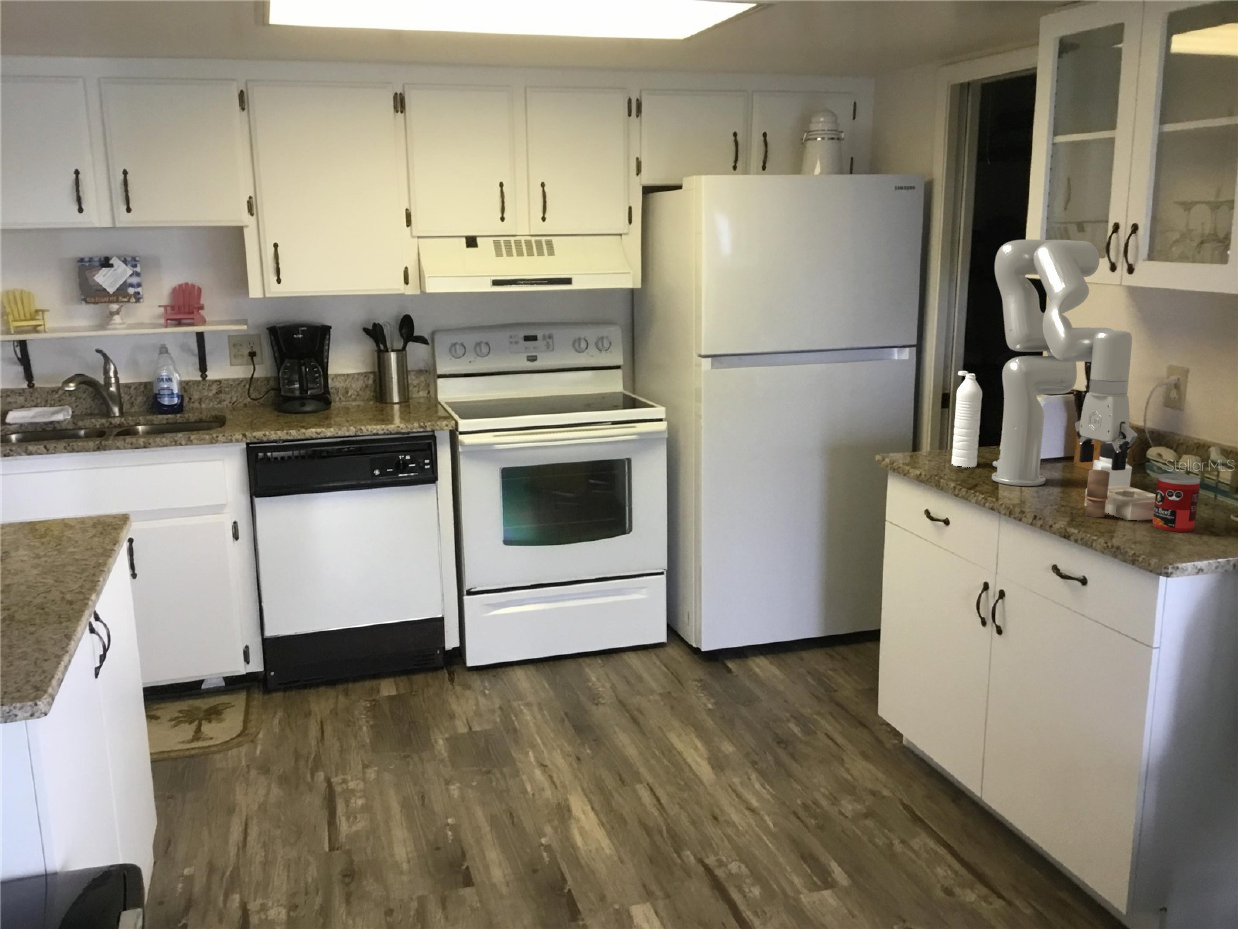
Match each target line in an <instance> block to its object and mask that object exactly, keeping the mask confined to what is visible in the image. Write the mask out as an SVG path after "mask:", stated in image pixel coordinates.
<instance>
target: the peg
mask: <svg viewBox="0 0 1238 929" xmlns="http://www.w3.org/2000/svg"><path fill="white" fill-rule="evenodd" d="M1109 476H1110V472H1108V471H1104V470H1093V469H1090V470H1088V476H1087V488H1086V489H1087V494H1086V493H1085V494H1086V498H1087V504H1086V506H1085V516H1086V517H1088V518H1093V517H1103V518H1104V517H1105V514H1106V513H1105V504H1106V500H1108V497H1107V495H1108V485H1109Z"/></svg>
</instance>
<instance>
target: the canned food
mask: <svg viewBox="0 0 1238 929" xmlns="http://www.w3.org/2000/svg"><path fill="white" fill-rule="evenodd" d="M1200 485H1201V479H1200V477H1197V476H1194V475H1189V474H1185V473H1183V474H1182V473H1162V474H1159V475H1158V476H1157V480H1156V489H1155V495H1156V496H1155V505H1154V514H1153V519H1152V525H1153V527H1155V528H1156V527H1157V528H1156V529H1158V528H1159V530H1161V529H1162V530H1163V531H1167V532H1172V531H1173V533H1187V532H1188V533H1189V532H1192V531H1193V530H1194V528H1195V525H1196V520H1197V510H1198V504H1199V497H1200V496H1199V494H1200V489H1201V488H1200ZM1162 530H1161V531H1162Z"/></svg>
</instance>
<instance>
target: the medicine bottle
mask: <svg viewBox="0 0 1238 929" xmlns="http://www.w3.org/2000/svg"><path fill="white" fill-rule="evenodd" d="M1119 445H1121V443H1119ZM1113 452H1116V451H1115V449H1114V447H1113V445H1112V443H1111V442H1103V443H1102V444H1100V451H1099V459H1093V463H1092V464H1093V465H1092V470H1104V471H1108V472H1110V476H1109V485H1108V487H1112V486H1125V485H1126V486H1129V487H1131V483H1132V482H1131V481H1132V474H1133V467H1132V466H1131V465H1130V464H1128V463H1127V462H1128V455H1129V452H1127V458H1126V468H1125V470H1117V471H1114V470H1112V469H1111V466H1112V455H1113Z"/></svg>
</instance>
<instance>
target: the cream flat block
mask: <svg viewBox="0 0 1238 929" xmlns="http://www.w3.org/2000/svg"><path fill="white" fill-rule="evenodd" d="M1086 494H1087V488H1085V496H1084V497H1085V498H1084V506H1085V507H1086V504H1087V498H1086ZM1155 496H1156V493H1155V494H1154V493H1151V492H1149V491H1145V490H1142V489H1139V488H1135V487H1132V486H1130V487H1129V486H1126V485H1125V486H1112V487H1108V495H1107V497H1108V500H1106V504H1105V513H1104V514H1108V513H1109V514H1108V515H1111V516H1113V515H1114V516H1113V517H1117V518H1119V517H1120V519H1122V518H1123V520H1125V521H1128V520H1137V521H1145V520H1146V521H1147V520H1153V514H1154V505H1155Z"/></svg>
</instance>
